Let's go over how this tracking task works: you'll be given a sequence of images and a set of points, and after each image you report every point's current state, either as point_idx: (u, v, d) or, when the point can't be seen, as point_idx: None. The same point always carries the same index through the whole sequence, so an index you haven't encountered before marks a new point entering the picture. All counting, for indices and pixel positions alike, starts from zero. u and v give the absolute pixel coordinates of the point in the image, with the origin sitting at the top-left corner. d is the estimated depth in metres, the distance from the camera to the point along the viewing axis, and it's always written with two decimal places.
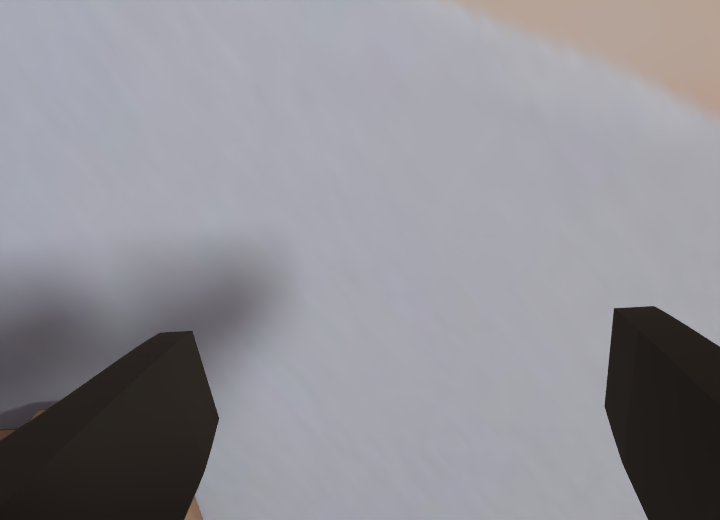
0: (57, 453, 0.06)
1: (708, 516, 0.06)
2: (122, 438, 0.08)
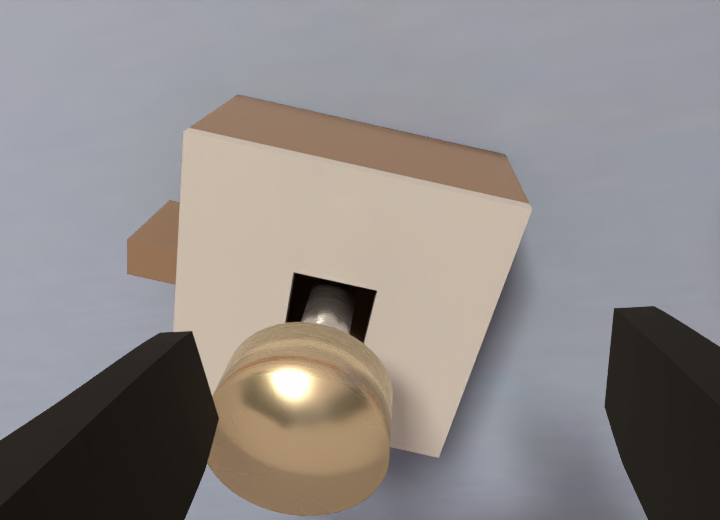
0: (57, 453, 0.06)
1: (708, 516, 0.06)
2: (122, 438, 0.08)
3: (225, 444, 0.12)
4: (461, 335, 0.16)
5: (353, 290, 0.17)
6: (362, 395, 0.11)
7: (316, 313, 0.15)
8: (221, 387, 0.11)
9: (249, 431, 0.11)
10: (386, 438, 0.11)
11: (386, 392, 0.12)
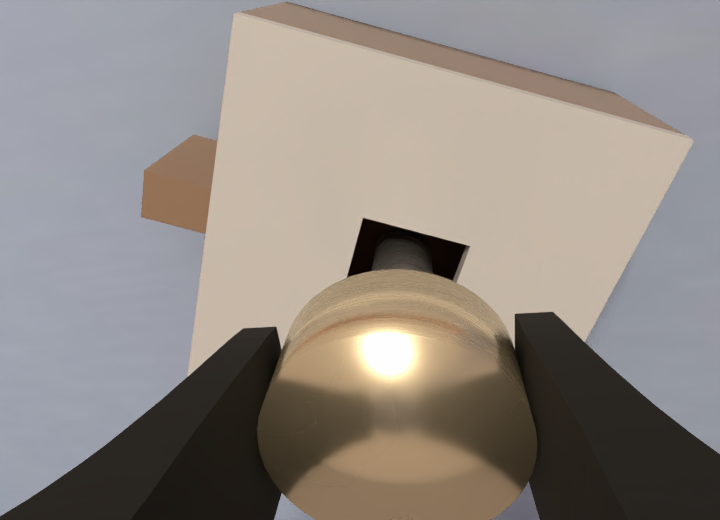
0: (180, 450, 0.06)
1: (570, 517, 0.07)
2: (228, 435, 0.07)
3: (294, 439, 0.08)
4: (571, 308, 0.12)
5: (430, 248, 0.13)
6: (507, 372, 0.07)
7: None
8: (296, 354, 0.08)
9: (332, 421, 0.08)
10: (535, 437, 0.08)
11: (520, 372, 0.09)
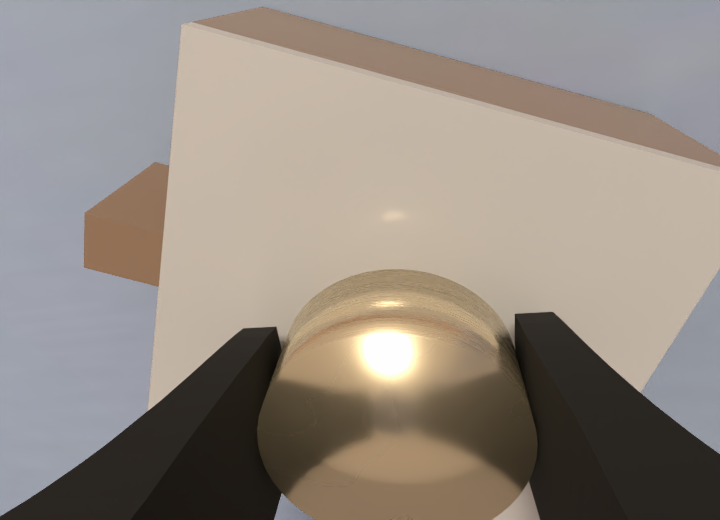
0: (180, 450, 0.06)
1: (570, 517, 0.07)
2: (228, 435, 0.07)
3: (295, 438, 0.08)
4: None
5: None
6: (508, 372, 0.07)
7: None
8: (296, 354, 0.08)
9: (332, 421, 0.08)
10: (536, 437, 0.08)
11: (520, 372, 0.09)
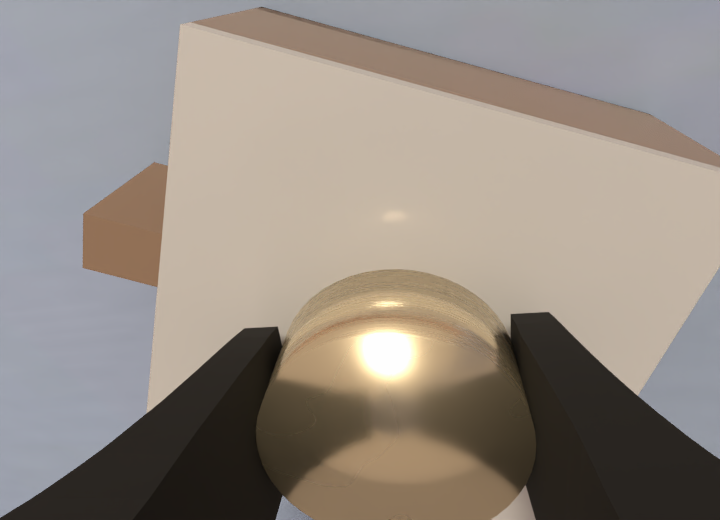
0: (182, 450, 0.06)
1: (565, 517, 0.07)
2: (230, 435, 0.07)
3: (293, 438, 0.08)
4: None
5: None
6: (506, 372, 0.07)
7: None
8: (295, 354, 0.08)
9: (330, 421, 0.08)
10: (534, 437, 0.08)
11: None
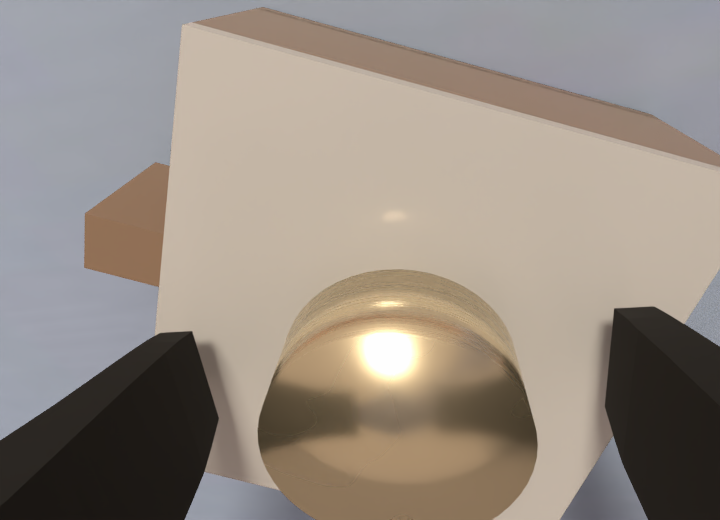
0: (57, 453, 0.06)
1: (708, 516, 0.06)
2: (122, 438, 0.08)
3: (295, 439, 0.08)
4: None
5: None
6: (508, 372, 0.07)
7: None
8: (297, 354, 0.08)
9: (332, 422, 0.08)
10: (536, 437, 0.08)
11: (520, 372, 0.09)
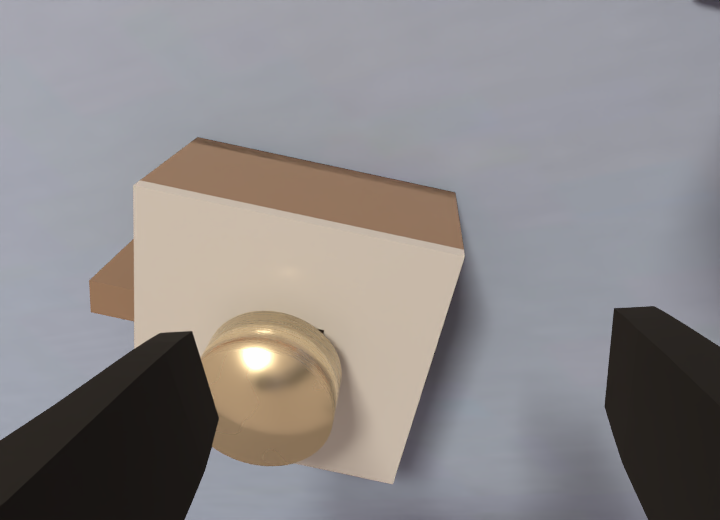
0: (57, 453, 0.06)
1: (708, 516, 0.06)
2: (122, 438, 0.08)
3: None
4: (406, 371, 0.17)
5: None
6: (309, 366, 0.14)
7: None
8: None
9: (222, 396, 0.15)
10: (329, 401, 0.14)
11: (333, 366, 0.15)
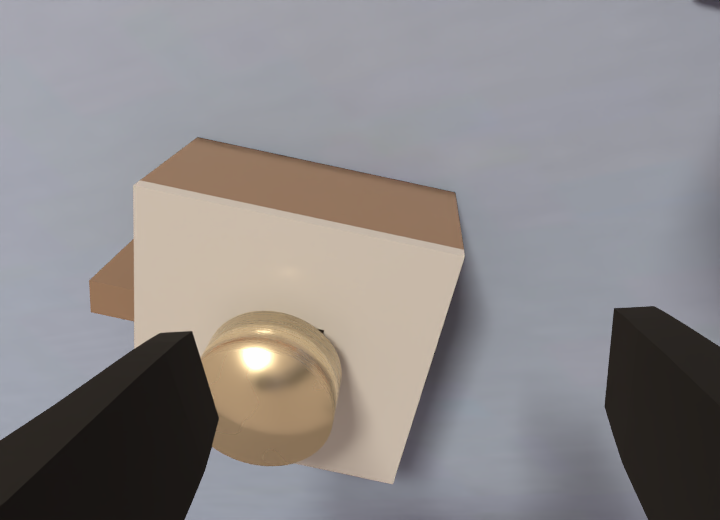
0: (57, 453, 0.06)
1: (708, 516, 0.06)
2: (122, 438, 0.08)
3: None
4: (406, 371, 0.17)
5: None
6: (309, 366, 0.14)
7: None
8: None
9: (222, 396, 0.15)
10: (329, 401, 0.14)
11: (333, 366, 0.15)
